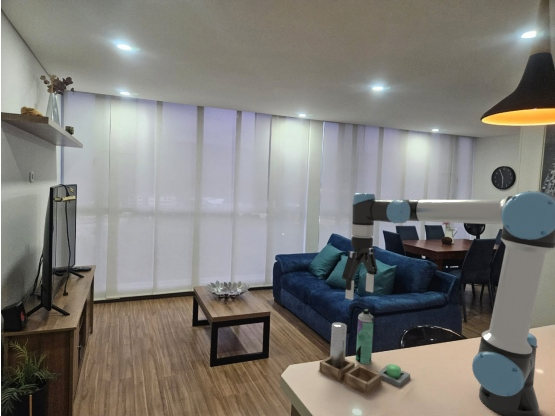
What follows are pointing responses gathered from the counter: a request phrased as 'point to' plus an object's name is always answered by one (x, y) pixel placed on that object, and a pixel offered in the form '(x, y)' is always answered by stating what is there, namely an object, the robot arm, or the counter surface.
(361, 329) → the spray can
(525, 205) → the robot arm
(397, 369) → the button
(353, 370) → the wooden double crate
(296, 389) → the counter surface
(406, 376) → the gray square frame
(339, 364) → the seated billet
